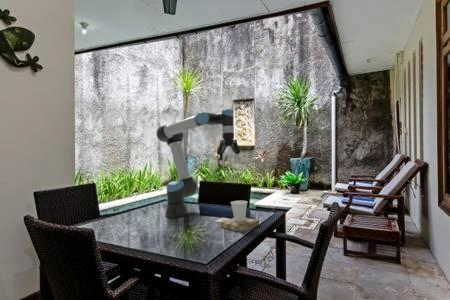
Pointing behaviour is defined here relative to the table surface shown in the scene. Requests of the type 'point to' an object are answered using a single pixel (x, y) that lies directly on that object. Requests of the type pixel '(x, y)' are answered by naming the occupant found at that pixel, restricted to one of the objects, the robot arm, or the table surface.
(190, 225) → the table surface
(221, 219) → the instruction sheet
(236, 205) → the cup
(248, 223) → the plinth block
